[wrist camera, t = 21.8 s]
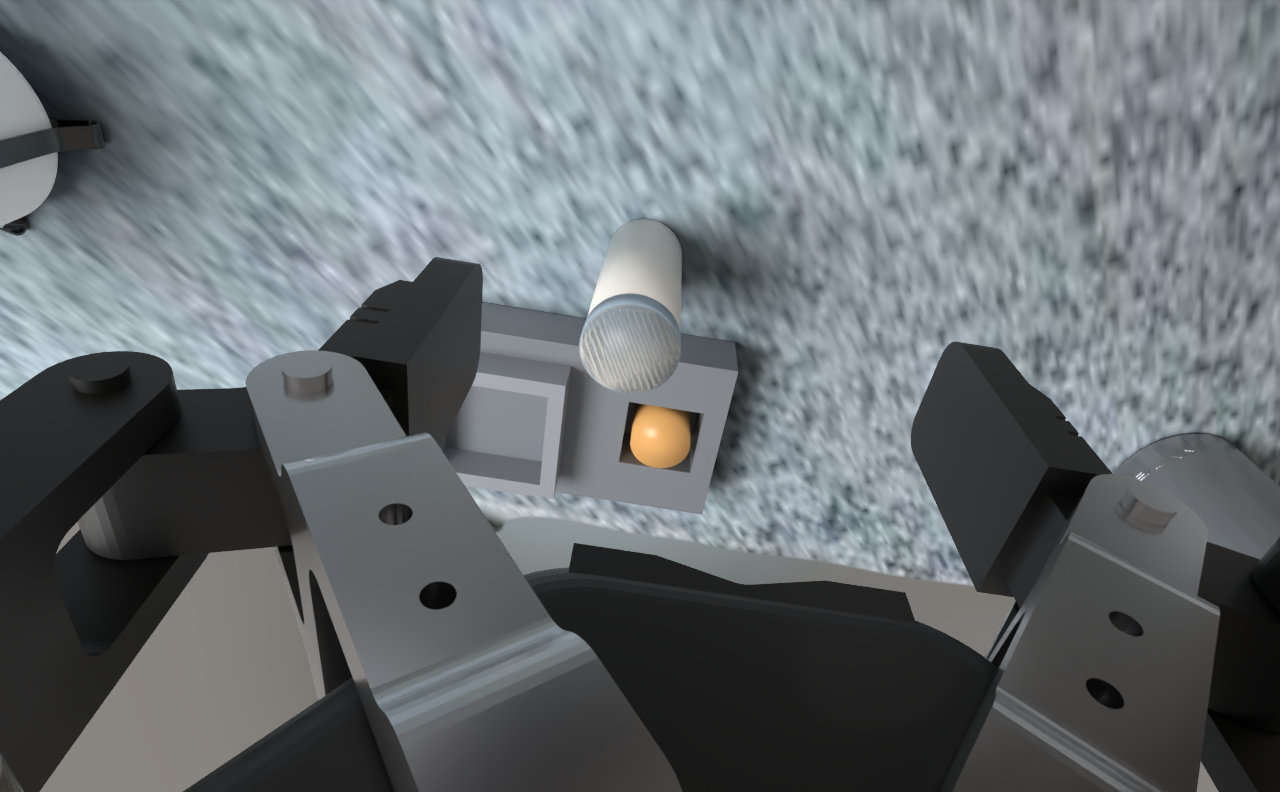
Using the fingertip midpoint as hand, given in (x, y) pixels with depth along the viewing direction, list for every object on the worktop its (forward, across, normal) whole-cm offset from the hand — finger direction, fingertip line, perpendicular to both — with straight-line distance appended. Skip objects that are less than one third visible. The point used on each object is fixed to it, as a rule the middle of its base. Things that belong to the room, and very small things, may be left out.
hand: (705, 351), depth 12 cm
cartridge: (+32, +1, +10) cm, 34 cm away
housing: (+32, +4, +22) cm, 39 cm away
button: (+31, -2, +22) cm, 38 cm away
